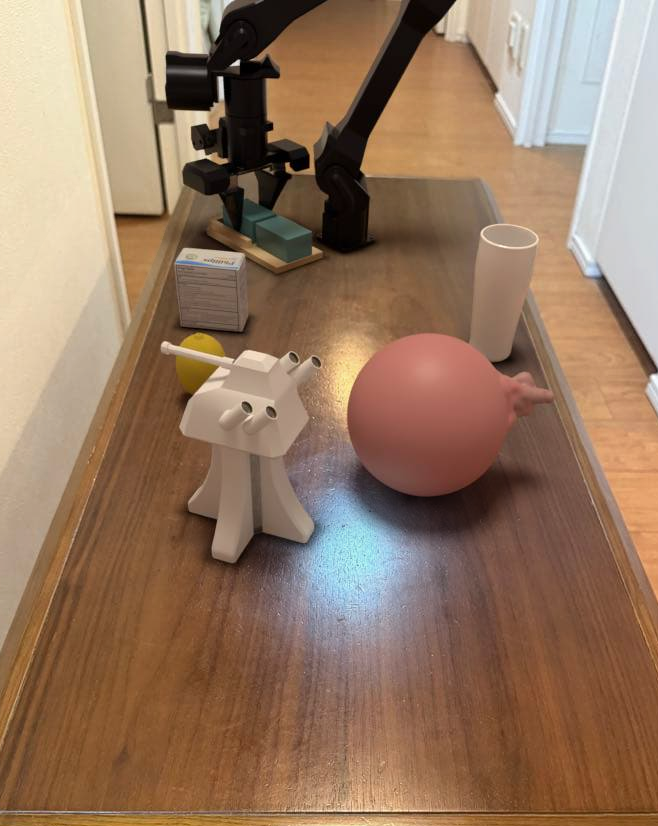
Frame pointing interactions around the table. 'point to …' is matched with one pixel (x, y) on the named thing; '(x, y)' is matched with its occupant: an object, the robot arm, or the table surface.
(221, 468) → the toy gun turret
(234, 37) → the robot arm
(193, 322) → the medicine box
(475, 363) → the balloon
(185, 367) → the lemon
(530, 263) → the drinking glass
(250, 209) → the teal rectangular block
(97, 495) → the table surface
